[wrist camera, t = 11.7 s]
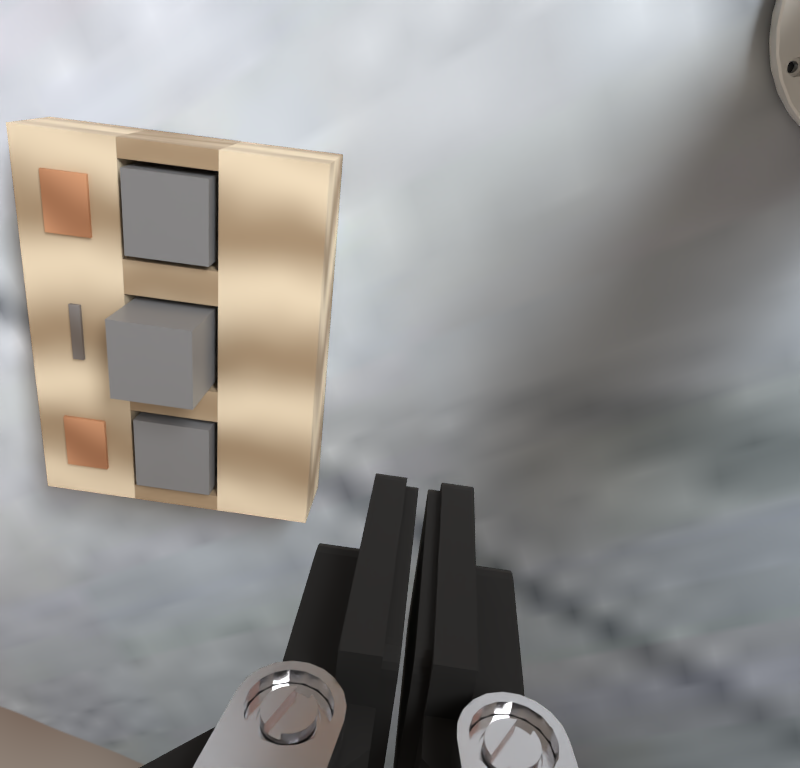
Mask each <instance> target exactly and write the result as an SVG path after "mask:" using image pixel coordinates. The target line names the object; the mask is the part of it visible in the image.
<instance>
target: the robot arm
mask: <svg viewBox="0 0 800 768" xmlns="http://www.w3.org/2000/svg"><path fill="white" fill-rule="evenodd" d="M769 50H770V66H771V71H772V75H773V79H774V82H775V86H776V90H777V93H778V95H779V97H780V99H781V101H782V102H783V104H784V106H785V108H786V110H787V112H788V114H789V115H790V116H791V117H792V118H793V119H794V121H795V122H796V123H797V124H798V125H799V126H800V0H776V3H775V6H774V10H773V13H772V21H771V29H770V37H769ZM791 61H792V62H793V63H794V68H793V70H792V71H791V72H790V73H788V72H787V66H788V64H789V62H791ZM406 483H407V478H404V477H397V476H390V475H383V474H376V476H375V480H374V485H373V490H372V494H371V499H370V504H369V508H368V513H367V518H366V523H365V527H364V532H363V537H362V541H361V546H360V549H356V548H349V547H342V546H335V545H328V544H321V543H320V544H319V545H318V547H317V550H316V553H315V557H314V560H313V563H312V566H311V570H310V573H309V576H308V580H307V583H306V586H305V590H304V593H303V596H302V600H301V603H300V606H299V609H298V613H297V616H296V619H295V623H294V626H293V629H292V633H291V636H290V639H289V642H288V646H287V649H286V652H285V656H284V659H283V662H275V663H273V664H270V665H267V666H264V667H262V668H259V669H258V670H256V671H255V672H254V673H252V674H251V675H249V676H248V677H246V679H245V680H244V681H243V682H242V684H241V685H240V686H239V687H238V689H237V690H236V691H235V693H234V695H233V697H232V699H231V700H230V702H229V704H228V706H227V707H226V709H225V711H224V713H223V715H222V716H221V718H220V720H219V722H218V723H217V725H216V727H214V728H212V729H210V730H209V731H207V732H205V733H203V734H201V735H199V736H197V737H196V738H194V739H192V740H190V741H188V742H186V743H184V744H183V745H181V746H179V747H177V748H175V749H173V750H172V751H170V752H168V753H166V754H164V755H162V756H160V757H159V758H157V759H155V760H153V761H151V762H149V763H147V764H146V765H144V766H142V767H140V768H384V763H385V756H386V750H387V743H388V737H389V730H390V724H391V717H392V711H393V704H394V697H395V691H396V684H397V678H398V671H399V664H400V656H401V648H402V639H403V629H404V620H405V611H406V601H407V592H408V582H409V573H410V564H411V554H412V545H413V535H414V526H415V517H416V507H417V498H418V488H415V487H408V486H406ZM393 768H578V765H577V762H576V759H575V756H574V753H573V749H572V746H571V743H570V740H569V738H568V736H567V734H566V732H565V730H564V728H563V726H562V724H561V723H560V722H559V721H558V720H557V719H556V718H555V716H554V715H553V714H552V713H551V712H550V711H549V710H547V709H546V708H545V707H543V706H542V705H540V704H539V703H537V702H536V701H534V700H532V699H529V698H527V697H524V686H523V676H522V665H521V655H520V645H519V634H518V624H517V614H516V603H515V593H514V582H513V576H512V572H511V571H509V570H502V569H495V568H488V567H481V566H476V556H475V515H474V488H473V487H468V486H461V485H454V484H447V483H442V484H441V489H440V491H436V490H428V495H427V501H426V507H425V514H424V520H423V527H422V533H421V540H420V546H419V553H418V559H417V566H416V572H415V579H414V585H413V592H412V598H411V605H410V611H409V619H408V627H407V636H406V646H405V656H404V666H403V676H402V686H401V696H400V706H399V716H398V726H397V736H396V746H395V756H394V766H393Z"/></svg>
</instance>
